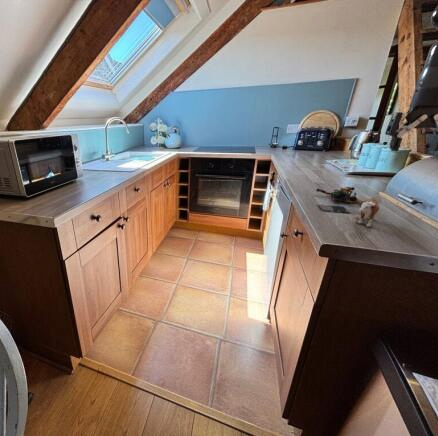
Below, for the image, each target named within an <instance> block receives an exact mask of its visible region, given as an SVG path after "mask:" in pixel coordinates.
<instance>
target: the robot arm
mask: <svg viewBox="0 0 438 436" xmlns="http://www.w3.org/2000/svg"><path fill="white" fill-rule="evenodd" d="M430 23H431V26H432V27H433V28H434V29H437V30H438V5H437V6H436V7H435V9H434V10H433V12H432V14H431V17H430ZM416 82H417V83H416V86H415V88H414V91H413V95H412V97H411V101H410V103H409V108H408V111H406V112H402V111H396V112H395V111H394V112H393V113H392V114H391V117H390V118H389V122H388V124H387V126H386V130H385V132H384V134H385V136H390V137H391V142H390V144H389V149H390V151H391V152H399V150H400V147H401V144H402V141H403V136H404V135H406V134H407V133H408V132H411V131H412V130H414V129H430V130H431V131H432V132H433V134H434V136H433V137H432V140H431V142H430V146H429V147H428V151H429V152H438V41H436V42H434V43H433V44H432V46H431V47H430V49H429V51H428V54H427V57H426V60H425V63H424V66H423V69H422V70H421V73H420V75H419V77H418V80H417V81H416ZM404 118H405V122H404V123H403V124H402V125H400V122H401V121H403V119H404ZM399 125H400V127H399Z"/></svg>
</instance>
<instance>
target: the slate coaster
mask: <svg viewBox="0 0 438 436" xmlns="http://www.w3.org/2000/svg"><path fill="white" fill-rule="evenodd" d="M318 207H319V208H320V209H321V210H322V211H323V212H330V213H331V212H333V213H345V214H350V211H349V210H348V209H347V208H345V207H344V206H340V205H329V204H328V205H327V204H318Z"/></svg>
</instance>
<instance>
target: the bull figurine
mask: <svg viewBox="0 0 438 436" xmlns="http://www.w3.org/2000/svg"><path fill="white" fill-rule="evenodd" d="M364 200H365V201H364V202H363V203H362V202H361V203H359V204H360V205H361V206H360V208H359V209H358V212H360V213H359V217H358V220H359V221H357V224H359V225H362V224H363V222H364V219H368V222H367V223H366V227H367V228H371V223H372V222H373V220H374V218H375V216H376V214H377V213H378V212H379V210H380V206H379V202H378V200H377V199H375V198H374V197H370V198H367V199H364Z"/></svg>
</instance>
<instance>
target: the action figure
mask: <svg viewBox="0 0 438 436" xmlns="http://www.w3.org/2000/svg"><path fill="white" fill-rule="evenodd" d="M354 191H355V187H354V186H346V187H340V189H332V191H326V190H324V189H321V188H316V192H318V193H322V194H325V195H329V196H330V197H332V201H333V202H335V203H336V204H338V203H339V201H340V202H346V203H350V204H354V203H358V204H360V203H361V202H362V203H364V201H365V200H366V199H362V200H361V199H358V198H357V192H354ZM352 194H353V195H352Z"/></svg>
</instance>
